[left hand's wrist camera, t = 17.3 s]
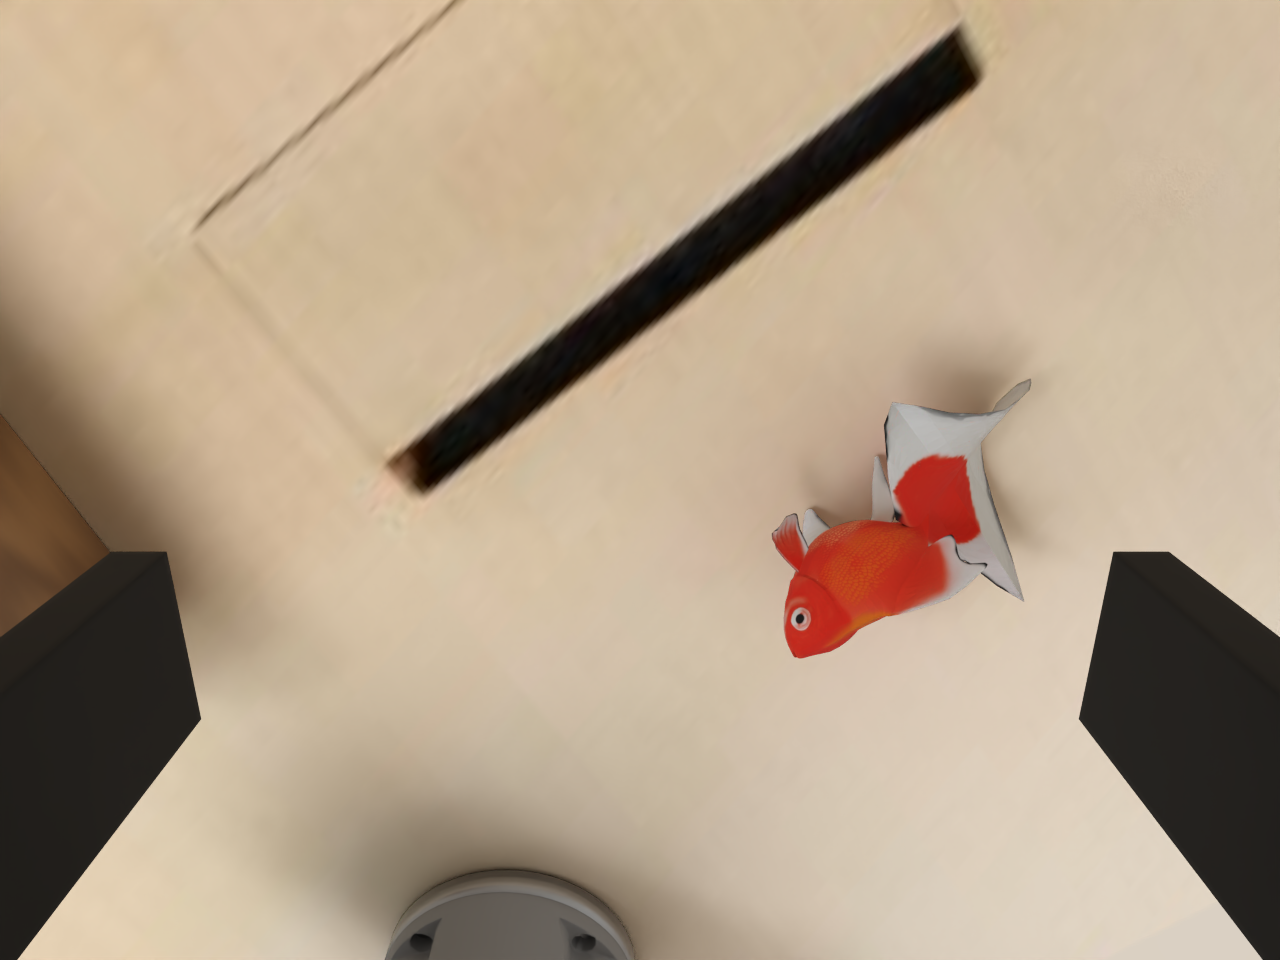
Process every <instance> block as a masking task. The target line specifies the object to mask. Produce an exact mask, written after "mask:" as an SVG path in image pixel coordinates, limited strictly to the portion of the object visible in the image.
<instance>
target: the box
mask: <svg viewBox="0 0 1280 960" xmlns="http://www.w3.org/2000/svg"><path fill="white" fill-rule="evenodd" d="M109 553H110V552H109V551H108V549H107V548H106V547H105V545H104V544H103V543H102V542H101V540H100V539H99V538H98V537H97V535H96V534H95V533H94V532H93V530H92V529H91V528H90V527H89V525H88V524H87V523H86V522H85V520H84V519H83V518H82V517H81V515H80V514H79V513H78V512H77V510H76V509H75V508H74V506H73V505H72V504H71V503H70V501H69V500H68V499H67V498H66V496H65V495H64V494H63V493H62V491H61V490H60V489H59V488H58V486H57V485H56V484H55V483H54V481H53V480H52V479H51V478H50V476H49V475H48V474H47V472H46V471H45V470H44V469H43V467H42V466H41V465H40V464H39V462H38V461H37V460H36V459H35V457H34V456H33V455H32V454H31V452H30V451H29V450H28V449H27V447H26V446H25V445H24V444H23V442H22V441H21V440H20V438H19V437H18V436H17V435H16V433H15V432H14V431H13V430H12V428H11V427H10V426H9V425H8V423H7V422H6V421H5V420H4V418H3V417H2V416H1V415H0V637H1V636H2V635H4V634H5V633H6V632H8V631H9V630H10V629H12V628H13V627H14V626H15V625H17V624H18V623H19V622H21V621H22V620H23V619H25V618H26V617H27V616H28V615H30V614H31V613H32V612H34V611H35V610H36V609H38V608H39V607H40V606H41V605H43V604H44V603H45V602H47V601H48V600H49V599H51V598H52V597H53V596H54V595H56V594H57V593H58V592H60V591H61V590H62V589H64V588H65V587H66V586H67V585H69V584H70V583H71V582H73V581H74V580H75V579H77V578H78V577H79V576H80V575H82V574H83V573H84V572H86V571H87V570H88V569H90V568H91V567H92V566H93V565H95V564H96V563H97V562H99V561H100V560H101V559H102V558H104V557H105V556H106V555H108V554H109Z"/></svg>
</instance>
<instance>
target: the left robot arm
mask: <svg viewBox="0 0 1280 960" xmlns="http://www.w3.org/2000/svg"><path fill="white" fill-rule="evenodd" d="M200 720H201V716H200V711H199V706H198V702H197V697H196V692H195V687H194V682H193V677H192V673H191V668H190V663H189V658H188V653H187V648H186V644H185V639H184V634H183V629H182V624H181V619H180V615H179V610H178V605H177V600H176V595H175V590H174V586H173V581H172V576H171V571H170V566H169V561H168V557H167V552H110V553H109V554H108V555H106V556H105V557H104V558H102V559H101V560H100V561H99V562H97V563H96V564H95V565H93V566H92V567H91V568H90V569H88V570H87V571H86V572H84V573H83V574H82V575H80V576H79V577H78V578H77V579H75V580H74V581H73V582H71V583H70V584H69V585H67V586H66V587H65V588H64V589H62V590H61V591H60V592H58V593H57V594H56V595H54V596H53V597H52V598H51V599H49V600H48V601H47V602H45V603H44V604H43V605H41V606H40V607H39V608H38V609H36V610H35V611H34V612H32V613H31V614H30V615H28V616H27V617H26V618H25V619H23V620H22V621H21V622H19V623H18V624H17V625H15V626H14V627H13V628H12V629H10V630H9V631H8V632H6V633H5V634H4V635H2V636H1V637H0V960H17V959H18V958H19V957H20V955H21V954H22V953H23V951H24V950H25V949H26V948H27V946H28V945H29V944H30V942H31V941H32V940H33V938H34V937H35V936H36V934H37V933H38V932H39V931H40V929H41V928H42V927H43V925H44V924H45V923H46V921H47V920H48V919H49V917H50V916H51V915H52V914H53V912H54V911H55V910H56V908H57V907H58V906H59V904H60V903H61V902H62V900H63V899H64V898H65V897H66V895H67V894H68V893H69V891H70V890H71V889H72V887H73V886H74V885H75V883H76V882H77V881H78V880H79V878H80V877H81V876H82V874H83V873H84V872H85V870H86V869H87V868H88V866H89V865H90V864H91V862H92V861H93V860H94V859H95V857H96V856H97V855H98V853H99V852H100V851H101V849H102V848H103V847H104V845H105V844H106V843H107V842H108V840H109V839H110V838H111V836H112V835H113V834H114V832H115V831H116V830H117V828H118V827H119V826H120V825H121V823H122V822H123V821H124V819H125V818H126V817H127V815H128V814H129V813H130V811H131V810H132V809H133V808H134V806H135V805H136V804H137V802H138V801H139V800H140V798H141V797H142V796H143V794H144V793H145V792H146V791H147V789H148V788H149V787H150V785H151V784H152V783H153V781H154V780H155V779H156V777H157V776H158V775H159V774H160V772H161V771H162V770H163V768H164V767H165V766H166V764H167V763H168V762H169V760H170V759H171V758H172V756H173V755H174V754H175V753H176V751H177V750H178V749H179V747H180V746H181V745H182V743H183V742H184V741H185V739H186V738H187V737H188V736H189V734H190V733H191V732H192V730H193V729H194V728H195V726H196V725H197V724H198V722H199V721H200ZM1079 720H1080V721H1081V722H1082V724H1083V725H1084V726H1085V728H1086V729H1087V730H1088V732H1089V733H1090V734H1091V736H1092V737H1093V738H1094V739H1095V741H1096V742H1097V743H1098V745H1099V746H1100V747H1101V749H1102V750H1103V751H1104V753H1105V754H1106V755H1107V756H1108V758H1109V759H1110V760H1111V762H1112V763H1113V764H1114V766H1115V767H1116V768H1117V770H1118V771H1119V772H1120V774H1121V775H1122V776H1123V777H1124V779H1125V780H1126V781H1127V783H1128V784H1129V785H1130V787H1131V788H1132V789H1133V791H1134V792H1135V793H1136V794H1137V796H1138V797H1139V798H1140V800H1141V801H1142V802H1143V804H1144V805H1145V806H1146V808H1147V809H1148V810H1149V811H1150V813H1151V814H1152V815H1153V817H1154V818H1155V819H1156V821H1157V822H1158V823H1159V825H1160V826H1161V827H1162V828H1163V830H1164V831H1165V832H1166V834H1167V835H1168V836H1169V838H1170V839H1171V840H1172V842H1173V843H1174V844H1175V845H1176V847H1177V848H1178V849H1179V851H1180V852H1181V853H1182V855H1183V856H1184V857H1185V859H1186V860H1187V861H1188V863H1189V864H1190V865H1191V866H1192V868H1193V869H1194V870H1195V872H1196V873H1197V874H1198V876H1199V877H1200V878H1201V880H1202V881H1203V882H1204V883H1205V885H1206V886H1207V887H1208V889H1209V890H1210V891H1211V893H1212V894H1213V895H1214V897H1215V898H1216V899H1217V900H1218V902H1219V903H1220V904H1221V906H1222V907H1223V908H1224V909H1225V911H1226V912H1227V914H1228V915H1229V916H1230V917H1231V919H1232V920H1233V921H1234V923H1235V924H1236V925H1237V927H1238V928H1239V929H1240V931H1241V932H1242V933H1243V934H1244V936H1245V937H1246V938H1247V940H1248V941H1249V942H1250V944H1251V945H1252V946H1253V948H1254V949H1255V950H1256V951H1257V953H1258V954H1259V955H1260V957H1261V958H1262V959H1263V960H1280V637H1279V636H1278V635H1276V634H1275V633H1274V632H1272V631H1271V630H1270V629H1268V628H1267V627H1266V626H1265V625H1263V624H1262V623H1261V622H1259V621H1258V620H1257V619H1255V618H1254V617H1253V616H1252V615H1250V614H1249V613H1248V612H1246V611H1245V610H1244V609H1242V608H1241V607H1240V606H1239V605H1237V604H1236V603H1235V602H1233V601H1232V600H1231V599H1229V598H1228V597H1227V596H1226V595H1224V594H1223V593H1222V592H1220V591H1219V590H1218V589H1216V588H1215V587H1214V586H1213V585H1211V584H1210V583H1209V582H1207V581H1206V580H1205V579H1203V578H1202V577H1201V576H1200V575H1198V574H1197V573H1196V572H1194V571H1193V570H1192V569H1190V568H1189V567H1188V566H1187V565H1185V564H1184V563H1183V562H1181V561H1180V560H1179V559H1178V558H1176V557H1175V556H1174V555H1172V554H1171V553H1170V552H1113V557H1112V561H1111V566H1110V571H1109V576H1108V581H1107V586H1106V590H1105V595H1104V600H1103V605H1102V610H1101V615H1100V619H1099V624H1098V629H1097V634H1096V639H1095V644H1094V648H1093V653H1092V658H1091V663H1090V668H1089V673H1088V677H1087V682H1086V687H1085V692H1084V697H1083V702H1082V706H1081V711H1080V716H1079ZM385 960H635V955H634V950H633V946H632V943H631V940H630V938H629V936H628V934H627V932H626V930H625V928H624V927H623V925H622V924H621V922H620V921H619V919H618V918H617V917H616V916H615V914H614V913H613V912H612V911H611V910H610V909H609V908H608V907H607V906H606V905H604V904H603V903H602V902H601V901H600V900H598V899H597V898H596V897H594V896H593V895H591V894H590V893H588V892H587V891H585V890H583V889H581V888H579V887H578V886H575V885H573V884H571V883H569V882H566V881H564V880H561V879H558V878H555V877H552V876H548V875H544V874H539V873H534V872H528V871H519V870H493V871H485V872H478V873H473V874H468V875H465V876H461V877H458V878H455V879H452V880H450V881H447V882H445V883H443V884H441V885H439V886H437V887H435V888H433V889H432V890H430V891H428V892H427V893H425V894H424V895H423V896H421V897H420V898H419V899H417V900H416V901H415V902H414V903H413V904H412V905H411V906H410V907H409V908H408V910H407V911H406V912H405V913H404V914H403V916H402V917H401V919H400V920H399V922H398V924H397V926H396V928H395V930H394V933H393V936H392V938H391V942H390V945H389V948H388V951H387V954H386V958H385Z"/></svg>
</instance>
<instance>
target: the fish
mask: <svg viewBox="0 0 1280 960" xmlns="http://www.w3.org/2000/svg"><path fill="white" fill-rule="evenodd" d="M1030 386H1031V379H1029V380H1026V381H1024V382H1021V383H1019V384H1017V385H1016V386H1015V387H1014V388H1013V389H1012V390H1010V391H1009V392H1008V393H1007V394H1006V395H1005V396H1004V397H1003V398H1002V399H1001V400H1000V401H999V402H997V404H996V405H995V407H994V409H993V411H992V412H988V413H983V414H968V413H948V412H944V411H939V410H935V409H930V408H926V407H921V406H914V405H907V404H901V403H894V402H892V405H891V408H890V410H889V413H888V416H887V418H886V421H885V424H884V431H885V443H886V455H887V468H888V479H889V485H890V489H889V486H888V483H887V481H886V478H885V475H884V472H883V469H882V466H881V463H880V459H879V457H878V456H876V457H875V460H874V471H873V480H872V503H873V509H872V517H871V520H858V521H852V522H848V523H844V524H841V525H838V526H835V527H832V528H830V527H829V526H828V525H827V524H826V523H825V522H824V521H822V520H821V519H820V518H819V517H818V515H817V514H816V513H815V512H814V511H813V510H812V509H808V510H807V511H806V512H805V515H804V522H803V534H802V532H801V530H800V527H799V523H798V517H797V514H795V513H794V514H791V515H789V516H786V518H785V519H784V521H783V522H782V524H781V525H780V527H778V528H777V529H776V530H775V531H774V532H773V533H772V539H773V541H774V543H775V545H776V549H777V550H778V552H779V553H780V554H781V555H782V557H783V558H784V559H785V560H786V561H787V562H788V563H789V564H790V565H791V566H792V567H793V568H794V569H795V570H796V571H795V574H794V577H793V579H792V580H791V582H790V586H789V591H788V596H787V599H786V603H785V613H784V632H785V637H786V640H787V643H788V646H789V648H790V650H791V652H792V654H793V656H794V657H797V658H805V657H808V656H812V655H817V654H821V653H826V652H830V651H832V650H834V649H836V648H838V647H840V646H841V645H843V644H844V643H845V642H847V641H848V640H849V639H850V638H851V637H852V636H853V635H854V634H855V633H856V632H857V631H858V630H859V629H860V628H862V627H864V626H866V625H868V624H871V623H873V622H875V621H877V620H879V619H881V618H883V617H885V616H893V615H898V614H902V613H906V612H910V611H913V610H917V609H920V608H923V607H927V606H930V605H933V604H936V603H939V602H941V601H944V600H947V599H950V598H951V597H952V596H954V595H955V594H956V593H958V592H959V591H960V590H962V589H963V588H965V587H966V586H967V585H968V584H969V583H970V582H971V581H972V580H973V579H975V578H976V577H977V576H978V575H979V574H980V573H981V574H983V575H984V576H985V577H986V578H988V579H989V580H990V581H991V582H993V583H994V584H995V585H997V586H998V587H1000V588H1002V589H1003V590H1005V591H1007V592H1008V593H1010V594H1012V595H1013V596H1015V597H1017V598H1019V599H1020V600H1022V601H1024V599H1023V596H1022V592H1021V588H1020V585H1019V581H1018V578H1017V574H1016V570H1015V567H1014V563H1013V560H1012V556H1011V553H1010V550H1009V547H1008V544H1007V541H1006V538H1005V535H1004V532H1003V529H1002V527H1001V524H1000V521H999V518H998V515H997V512H996V509H995V506H994V502H993V499H992V495H991V492H990V488H989V485H988V481H987V478H986V474H985V471H984V464H983V457H982V450H981V442H982V441H983V439H984V438H985V437H986V436H987V435H988V434H989V432H990V431H991V430H992V429H993V428H994V427H995V426H996V425H997V424H998V423H999V422H1000V421H1001V419H1002V418H1003V417H1004V416H1005V415H1006V414H1007V413H1008V411H1009V410H1010V409H1011V408H1012V407H1013V406H1014V405H1015V404H1016V403H1017V402H1018V401H1019V400H1020V399H1021V398H1022V397H1023V396H1024V395H1025V394H1026V393H1027V392H1028V391H1029V390H1030ZM894 516H895V518H896V520H897V521H899V522H897V523H895V522H892V521H893V519H894ZM964 561H966V562H964Z"/></svg>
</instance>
